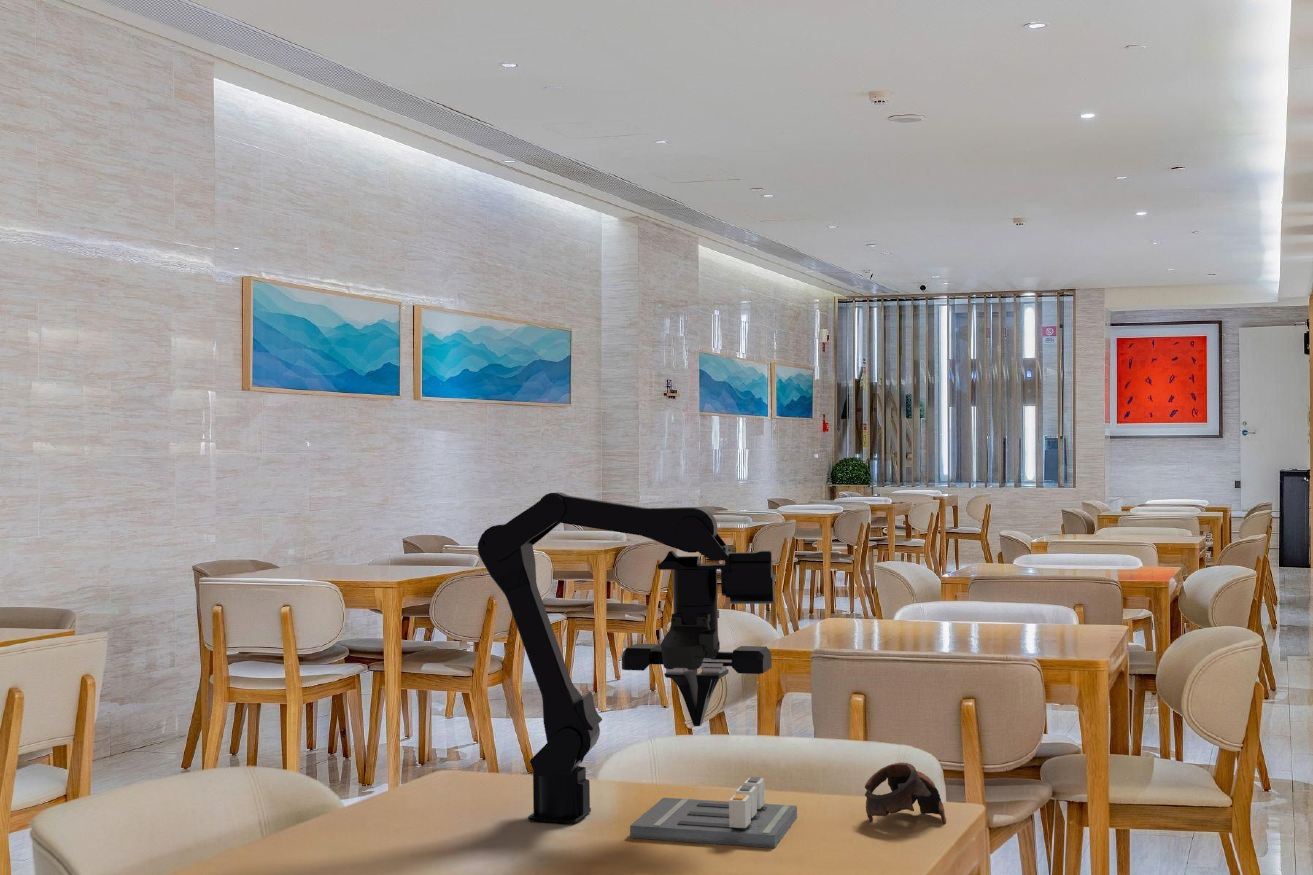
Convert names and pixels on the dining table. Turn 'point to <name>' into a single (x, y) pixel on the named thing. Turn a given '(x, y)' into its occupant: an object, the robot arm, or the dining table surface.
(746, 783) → the block
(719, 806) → the panel
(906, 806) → the brown curved band frame
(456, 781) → the dining table surface
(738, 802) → the block
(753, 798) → the breaker
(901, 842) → the dining table surface
